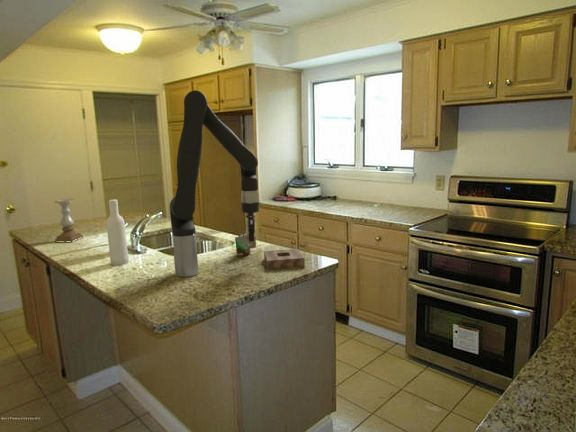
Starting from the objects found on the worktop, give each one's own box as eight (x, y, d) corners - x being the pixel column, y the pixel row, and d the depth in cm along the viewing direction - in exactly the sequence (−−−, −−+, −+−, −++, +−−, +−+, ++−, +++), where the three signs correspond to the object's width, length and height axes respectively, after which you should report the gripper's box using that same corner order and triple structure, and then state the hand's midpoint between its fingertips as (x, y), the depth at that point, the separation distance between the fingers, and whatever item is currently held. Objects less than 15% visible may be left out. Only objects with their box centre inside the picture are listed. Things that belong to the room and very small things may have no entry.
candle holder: (67, 237, 251) (61, 198, 246) (83, 238, 249) (78, 198, 245) (54, 242, 240) (49, 201, 235) (72, 242, 238) (66, 201, 234)
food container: (248, 258, 196) (247, 237, 194) (235, 257, 197) (234, 237, 195) (255, 251, 208) (254, 231, 206) (243, 250, 209) (242, 231, 207)
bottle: (107, 263, 194) (100, 200, 188) (124, 259, 200) (117, 198, 194) (115, 266, 189) (108, 201, 183) (131, 262, 194) (125, 199, 189)
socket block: (267, 269, 177) (267, 260, 177) (264, 259, 193) (264, 251, 192) (304, 266, 180) (304, 258, 179) (298, 256, 195) (297, 248, 195)
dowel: (246, 248, 178) (246, 221, 176) (246, 246, 182) (245, 219, 180) (256, 248, 179) (255, 220, 177) (255, 245, 183) (255, 219, 181)
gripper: (240, 198, 183) (241, 236, 186) (241, 203, 169) (243, 244, 172) (257, 198, 184) (258, 235, 187) (260, 202, 170) (261, 243, 174)
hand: (251, 239), depth 180 cm, fingers closed on dowel, 4 cm apart
